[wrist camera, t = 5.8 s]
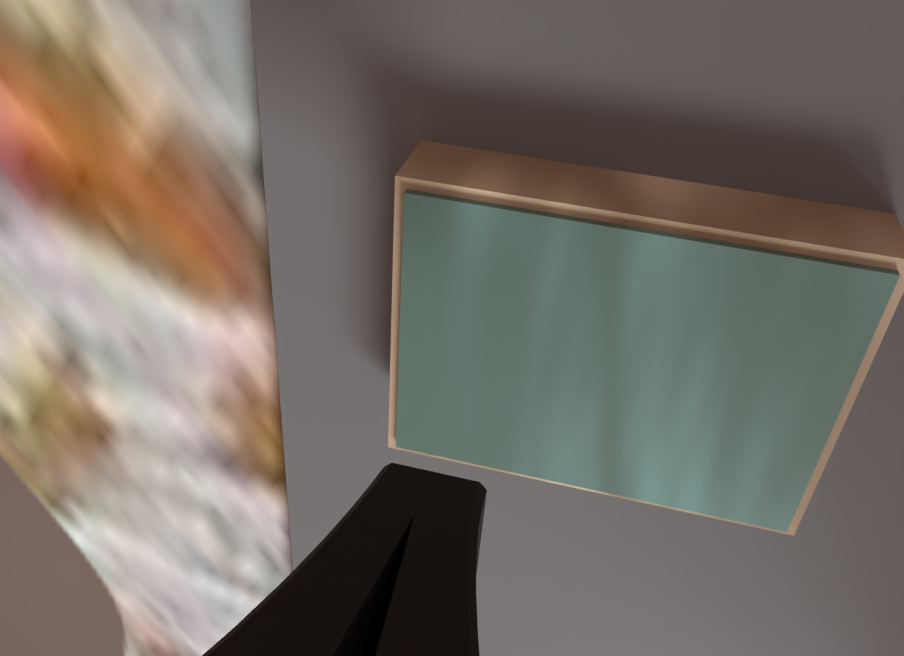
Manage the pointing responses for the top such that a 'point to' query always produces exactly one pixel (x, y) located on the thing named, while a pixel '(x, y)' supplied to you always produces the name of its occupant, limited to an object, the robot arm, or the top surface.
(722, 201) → the brown framed teal panel
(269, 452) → the top surface
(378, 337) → the rubber mat
